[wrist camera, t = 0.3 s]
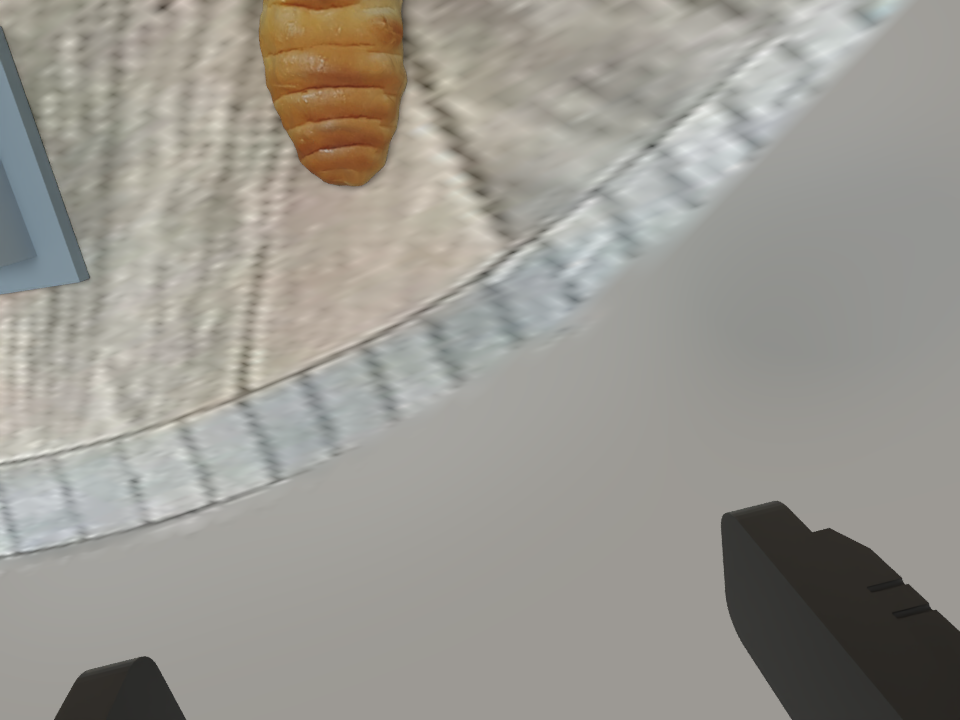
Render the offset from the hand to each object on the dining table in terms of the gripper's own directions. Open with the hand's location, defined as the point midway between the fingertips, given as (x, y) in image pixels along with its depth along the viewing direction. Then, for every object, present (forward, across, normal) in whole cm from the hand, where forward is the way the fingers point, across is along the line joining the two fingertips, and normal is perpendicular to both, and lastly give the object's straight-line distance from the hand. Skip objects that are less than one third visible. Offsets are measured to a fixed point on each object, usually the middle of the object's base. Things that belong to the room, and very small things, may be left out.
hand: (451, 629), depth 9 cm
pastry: (+29, +1, -9) cm, 30 cm away
